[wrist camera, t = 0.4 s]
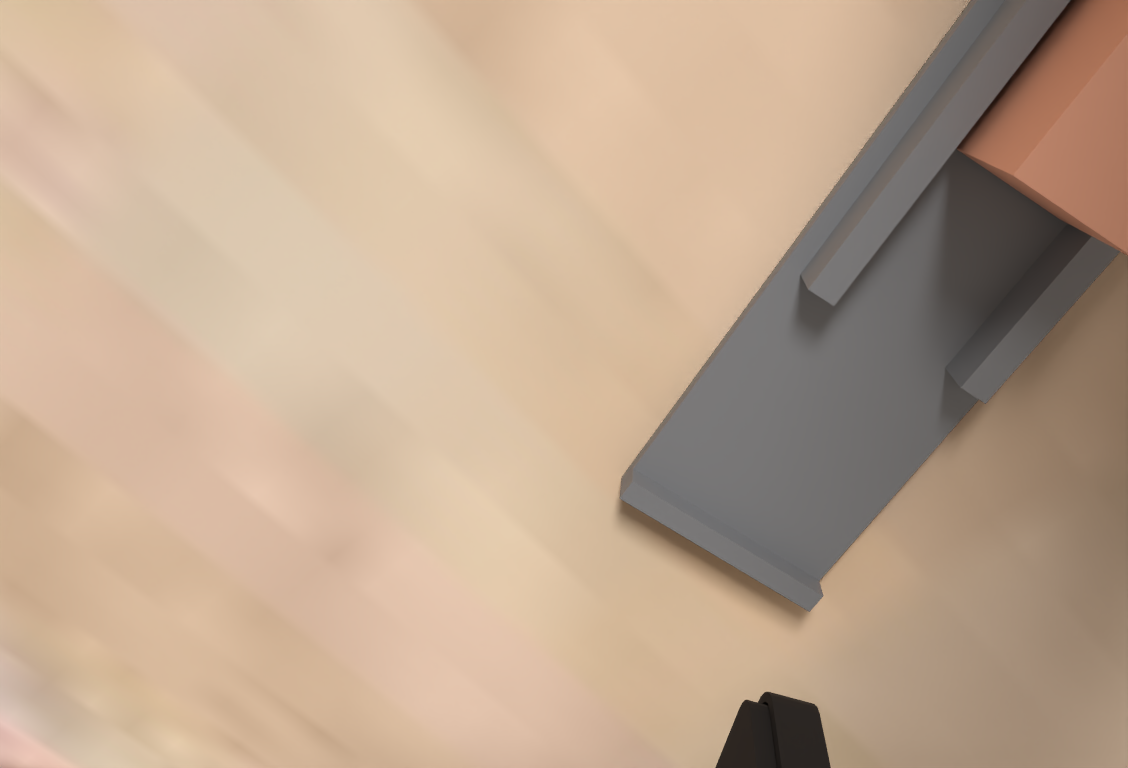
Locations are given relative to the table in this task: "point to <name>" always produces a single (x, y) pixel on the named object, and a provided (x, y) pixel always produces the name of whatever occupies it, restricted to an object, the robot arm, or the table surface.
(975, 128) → the block
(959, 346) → the chute
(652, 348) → the table surface
